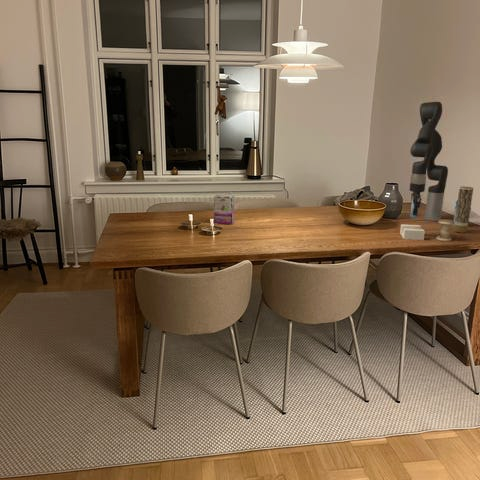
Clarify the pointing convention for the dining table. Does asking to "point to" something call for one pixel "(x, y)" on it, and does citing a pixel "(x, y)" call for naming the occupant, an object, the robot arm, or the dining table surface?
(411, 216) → the tab peg
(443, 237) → the bobbin
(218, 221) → the candy bar box
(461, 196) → the bark textured pillar
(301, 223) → the dining table surface
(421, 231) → the notched board
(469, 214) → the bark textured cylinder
